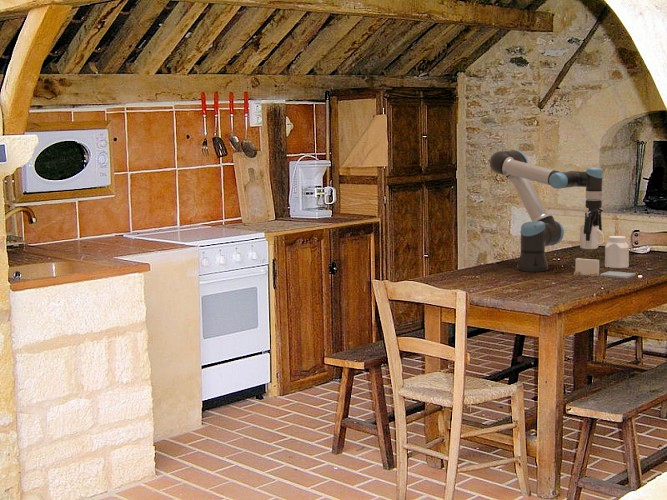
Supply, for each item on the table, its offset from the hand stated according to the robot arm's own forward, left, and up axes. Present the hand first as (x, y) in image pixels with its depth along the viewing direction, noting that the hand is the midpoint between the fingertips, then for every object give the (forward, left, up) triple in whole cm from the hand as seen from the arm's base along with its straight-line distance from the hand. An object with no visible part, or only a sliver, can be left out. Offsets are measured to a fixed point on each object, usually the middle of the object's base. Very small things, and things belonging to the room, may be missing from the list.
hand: (592, 246), depth 458 cm
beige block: (+3, -14, -12) cm, 18 cm away
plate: (+16, -7, -12) cm, 21 cm away
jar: (+4, +20, -12) cm, 24 cm away
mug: (0, 0, -1) cm, 1 cm away
